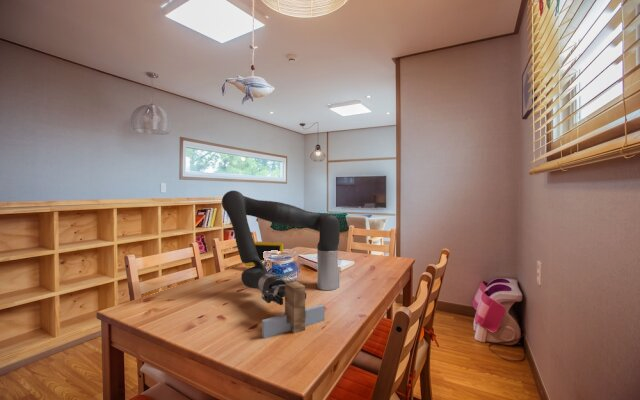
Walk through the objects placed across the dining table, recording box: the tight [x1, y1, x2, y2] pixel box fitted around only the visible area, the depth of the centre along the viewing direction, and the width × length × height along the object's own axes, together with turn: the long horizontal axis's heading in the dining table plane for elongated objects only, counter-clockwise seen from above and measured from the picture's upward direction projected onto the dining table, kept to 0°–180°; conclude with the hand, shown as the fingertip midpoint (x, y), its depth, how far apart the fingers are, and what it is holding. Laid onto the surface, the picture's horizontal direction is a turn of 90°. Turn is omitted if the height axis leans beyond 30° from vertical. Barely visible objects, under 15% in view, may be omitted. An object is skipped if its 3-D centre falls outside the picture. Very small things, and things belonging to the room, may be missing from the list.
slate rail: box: [261, 304, 326, 339], centre depth 97 cm, size 22×2×5 cm, turn 124°
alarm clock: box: [244, 241, 284, 267], centre depth 165 cm, size 20×8×16 cm, turn 80°
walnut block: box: [284, 280, 306, 334], centre depth 97 cm, size 4×6×14 cm, turn 35°
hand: (293, 299), depth 98 cm, fingers open, 8 cm apart
